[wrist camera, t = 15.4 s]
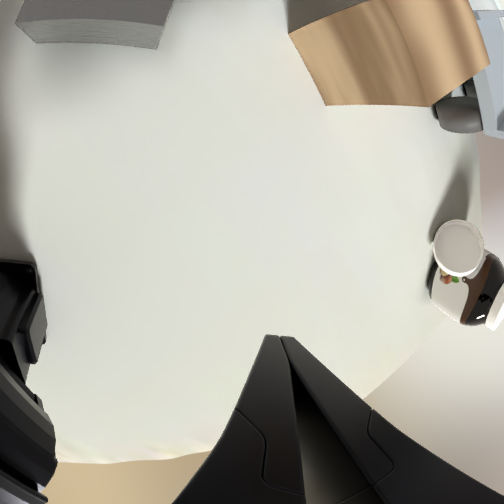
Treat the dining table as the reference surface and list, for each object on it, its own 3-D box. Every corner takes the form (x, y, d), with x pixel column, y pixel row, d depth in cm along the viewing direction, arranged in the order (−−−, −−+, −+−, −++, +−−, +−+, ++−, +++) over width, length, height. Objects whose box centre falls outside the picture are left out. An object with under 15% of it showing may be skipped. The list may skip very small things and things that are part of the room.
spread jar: (437, 300, 37) (492, 339, 27) (402, 298, 31) (472, 349, 22) (467, 228, 33) (529, 258, 24) (439, 207, 28) (521, 243, 18)
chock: (325, 105, 18) (428, 107, 11) (287, 34, 15) (383, -4, 8) (409, 63, 19) (490, 64, 12) (384, 8, 16) (465, -6, 9)
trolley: (431, 131, 23) (504, 146, 16) (392, 21, 17) (472, 11, 9) (476, 93, 25) (530, 102, 17) (449, 11, 18) (506, 10, 11)
